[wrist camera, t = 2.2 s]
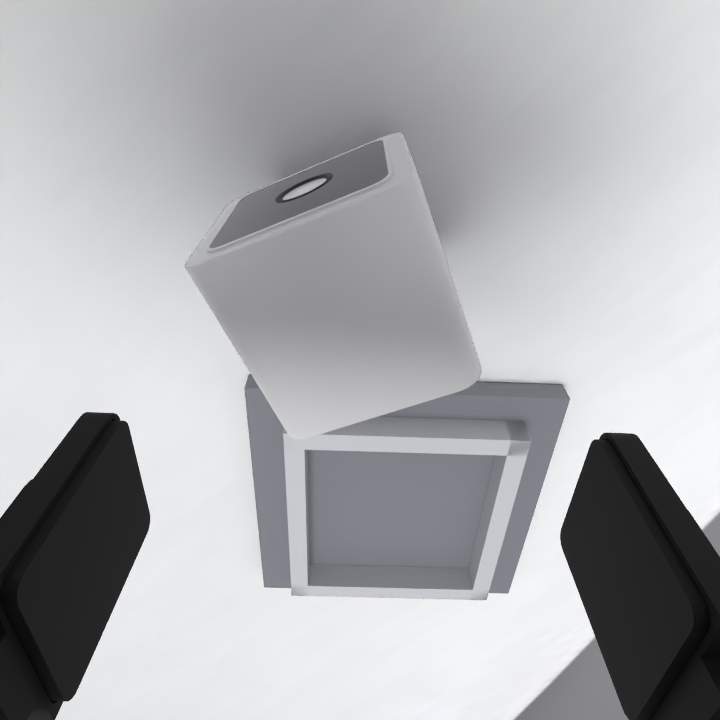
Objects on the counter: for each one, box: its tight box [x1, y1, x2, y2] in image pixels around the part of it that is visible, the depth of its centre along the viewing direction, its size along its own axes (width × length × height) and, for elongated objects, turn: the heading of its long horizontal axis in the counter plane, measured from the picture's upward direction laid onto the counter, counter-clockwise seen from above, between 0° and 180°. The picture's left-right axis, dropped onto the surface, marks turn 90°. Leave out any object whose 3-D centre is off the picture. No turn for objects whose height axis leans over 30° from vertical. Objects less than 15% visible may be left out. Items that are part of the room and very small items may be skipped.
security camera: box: [185, 132, 482, 439], centre depth 18 cm, size 6×7×10 cm
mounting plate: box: [245, 374, 570, 600], centre depth 30 cm, size 16×16×3 cm
